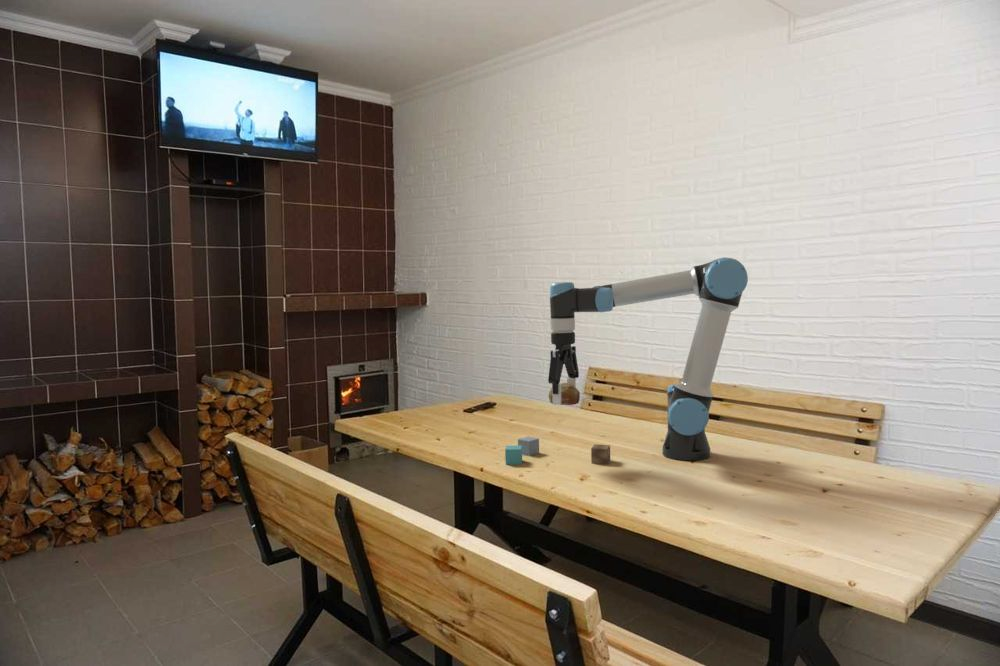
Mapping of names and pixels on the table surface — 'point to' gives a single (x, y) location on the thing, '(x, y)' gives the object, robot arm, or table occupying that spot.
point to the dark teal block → (513, 455)
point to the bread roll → (567, 394)
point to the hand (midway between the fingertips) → (564, 401)
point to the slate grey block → (529, 445)
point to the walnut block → (600, 454)
